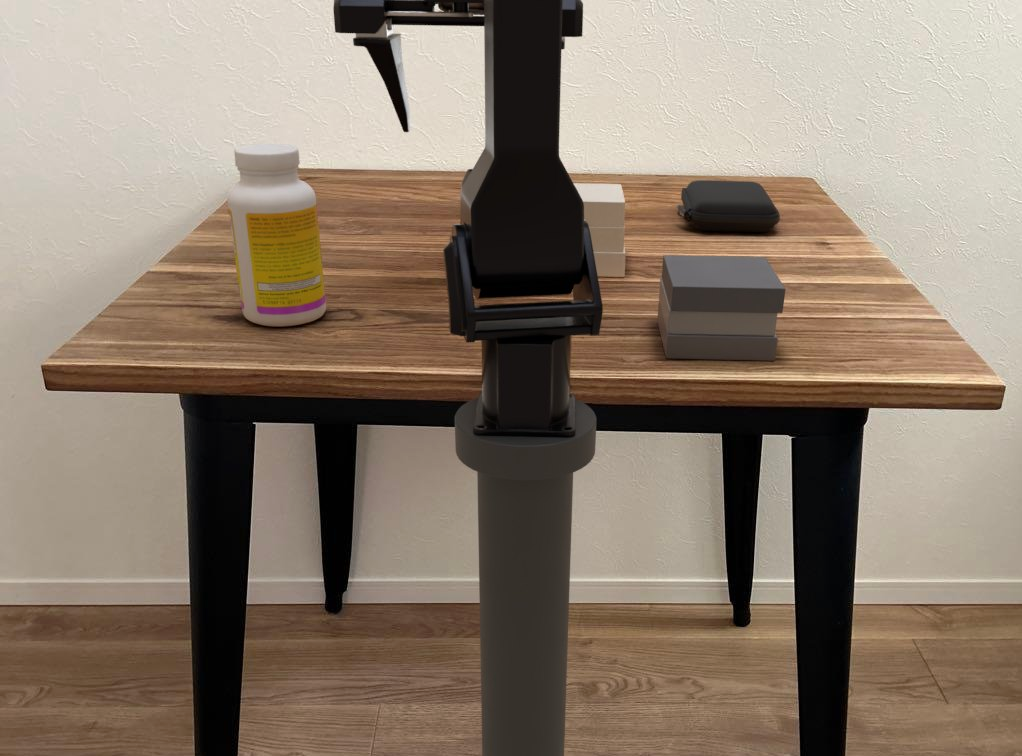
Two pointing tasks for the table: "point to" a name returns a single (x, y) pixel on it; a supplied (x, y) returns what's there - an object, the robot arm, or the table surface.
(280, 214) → the supplement bottle
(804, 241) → the table surface
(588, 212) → the beige rectangular block
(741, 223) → the carrying case
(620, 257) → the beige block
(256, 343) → the table surface
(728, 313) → the grey lidded box
